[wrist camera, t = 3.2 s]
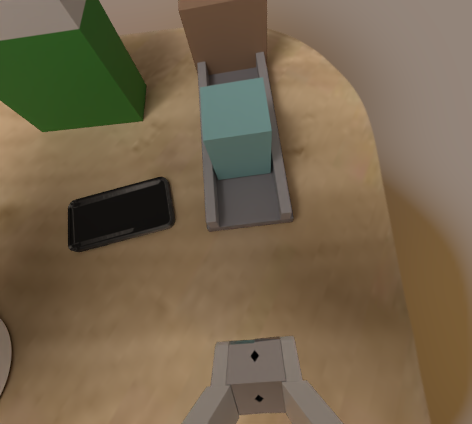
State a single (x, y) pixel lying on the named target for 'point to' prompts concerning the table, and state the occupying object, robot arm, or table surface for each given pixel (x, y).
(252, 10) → the keeper track
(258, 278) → the table surface
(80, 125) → the hardback book
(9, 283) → the table surface
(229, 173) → the block
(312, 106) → the table surface
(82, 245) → the phone
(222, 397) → the robot arm
